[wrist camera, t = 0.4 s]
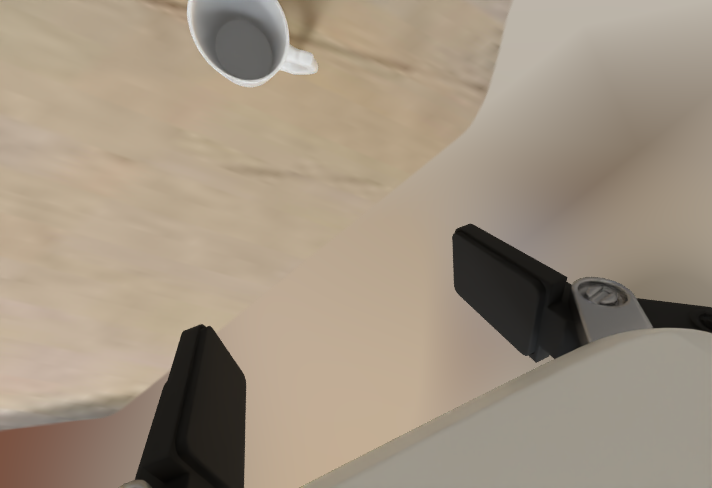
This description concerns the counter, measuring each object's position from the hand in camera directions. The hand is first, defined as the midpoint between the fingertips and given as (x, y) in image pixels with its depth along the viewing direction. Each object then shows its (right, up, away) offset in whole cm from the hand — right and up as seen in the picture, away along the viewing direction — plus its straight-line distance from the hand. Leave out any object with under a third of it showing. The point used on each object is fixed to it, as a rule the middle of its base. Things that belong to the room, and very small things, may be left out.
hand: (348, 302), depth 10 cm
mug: (-10, +23, +21) cm, 32 cm away
